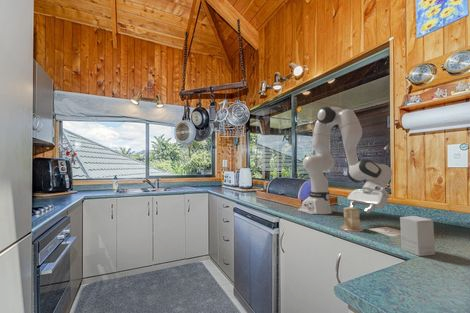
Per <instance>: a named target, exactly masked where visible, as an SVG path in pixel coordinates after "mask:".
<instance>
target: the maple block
mask: <svg viewBox="0 0 470 313" xmlns="http://www.w3.org/2000/svg"><path fill="white" fill-rule="evenodd" d="M354 207H355V206H354ZM354 207H350V206H346V207H343V226H344V227H345V228H348V229H351V230H354V229H360V227H361V225H360V223H361V220H360V208H359V207H355V208H354Z"/></svg>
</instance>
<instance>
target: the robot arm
mask: <svg viewBox="0 0 470 313" xmlns="http://www.w3.org/2000/svg"><path fill="white" fill-rule="evenodd" d="M316 119H317V120H316V121H315V123H314V126H313V127H314V128H313V133H312V143H311V144H312V148H313V149H314V150H315V154H312V155H308V156H305V157H304V158H303V160H302V167H303V169H304V170H306V172H307V173H308V176H309V179H310V188H311V190H310V191H309V192H308V193H307V194H308V197H307V198H305V199H304V200H303V201H302V202H301V205H300V206H301V207H299V208H298V209H297V210H298V211H299V212H302V213H306V214H309V215H330V214H333V212H332V210H331V209H332V208H331V204H330V191H329V180H328V178H327V177H326V176H325V175H324V171H330V170H331V169H333V168H334V167H335V164H336V162H335V159H334V157H333V156H332V153H331V147H330V144H331V135H332V134H331V133H332V128H333V127H338V128H339V131H340V135H341V139H342V145H343V151H344V156H345V159H346V165H347V169H346V170H347V171H346V174H347V177H348V179H349V180H350V181H351V182H353V183H357V184H359V183H362V182H364V181H365V180H366V182H365V183H364V184H363V186H362V188H355V189H354V190H352V191H351V192H350V193H349V194H348V195H347V197H346V199H347V200H348V202H349V203H350V205H349V207H354V208H356V207H355V205H360V206H366V207H365V209H364V213H366V214H370V213H371V211H373V210H374V209H375V208H376V209H383V208H385V206H386V205H387V203H388V200H389V199H390V197H391V196H390V195H391V194H389V193H388V192H387V190H386V189H385V187H387V185H388V184H389V183H390V180H391V179H392V176H393V170H392V168H391V167H390V166H388V164H384V163H377V162H374V161H372V160H371V159H368V158H365V159H362V160H360V161H359V159H358V155H357V147H358V144H359V142H360V140H361V139H362V137H363V129H362V128H363V127H362V125H361V123H360V120H359V118H358V117H357V115H356V113H355V112H354V111H353V110H352V109H348V108H347V109H345V108H343V107H342V108H341V107H337V106H323V107H320V108H319V109H318V111H317V112H316Z"/></svg>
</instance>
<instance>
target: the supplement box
mask: <svg viewBox="0 0 470 313" xmlns="http://www.w3.org/2000/svg"><path fill="white" fill-rule="evenodd" d="M399 221H400V222H399V223H400V224H399V225H400V231H401V235H400V242H401V243H400V245H401V246H400V247H401V250H403V251H405V252H408V253H411V254H412V255H416V256H418V257H423V256H424V257H425V256H432V255H433V256H434V255H436V248H435V247H436V245H435V230H434V220H433V219H430V218H426V217H421V216H417V215H410V216H408V215H407V216H400V217H399Z"/></svg>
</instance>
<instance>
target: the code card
mask: <svg viewBox="0 0 470 313" xmlns="http://www.w3.org/2000/svg"><path fill="white" fill-rule="evenodd" d="M368 230H369V231H373V232H376V233H378V234H383V235H385V236H388V237H397V236H401V229H400V230H399V229H396V228H393V227H387V226H380V227H375V228H368Z"/></svg>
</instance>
